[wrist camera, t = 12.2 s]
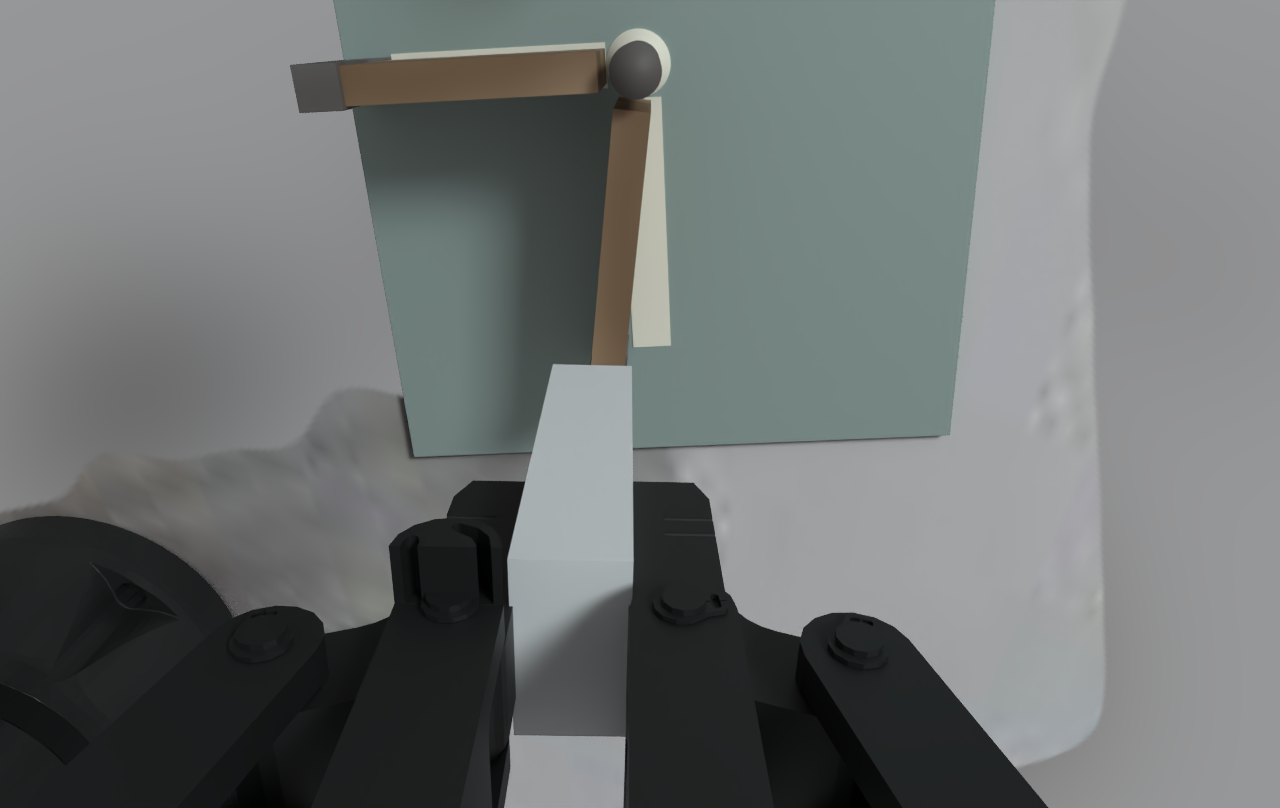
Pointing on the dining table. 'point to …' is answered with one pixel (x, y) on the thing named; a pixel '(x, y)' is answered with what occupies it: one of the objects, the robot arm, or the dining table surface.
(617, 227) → the fence gate
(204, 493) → the dining table surface
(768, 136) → the board
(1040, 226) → the dining table surface
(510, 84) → the bar
